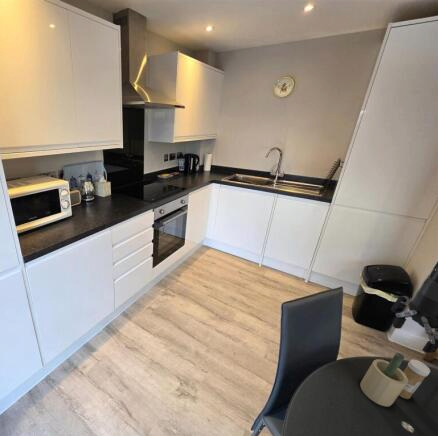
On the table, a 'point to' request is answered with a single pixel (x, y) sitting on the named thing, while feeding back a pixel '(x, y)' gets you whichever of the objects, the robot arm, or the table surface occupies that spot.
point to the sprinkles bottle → (414, 377)
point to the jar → (382, 383)
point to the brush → (393, 365)
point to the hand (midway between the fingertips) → (410, 338)
